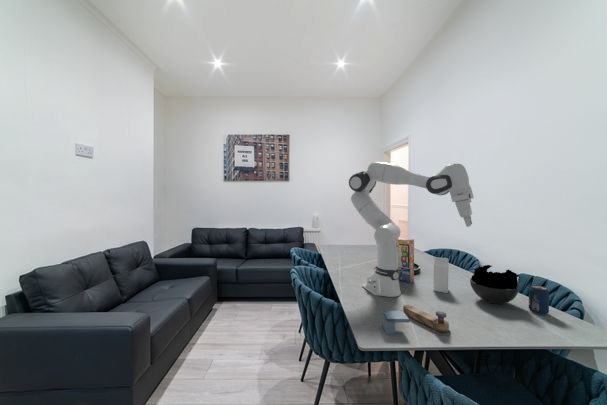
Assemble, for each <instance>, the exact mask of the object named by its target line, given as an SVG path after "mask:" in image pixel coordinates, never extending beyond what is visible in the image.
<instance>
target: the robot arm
mask: <svg viewBox="0 0 607 405" xmlns="http://www.w3.org/2000/svg"><path fill="white" fill-rule="evenodd" d="M469 178H470V177H469V175H468V172H467V169H466V167H465V166H464V165H463V164H462V163H451V164H447V165H445V166H444V167H443V169H441V170H440V171H439V172H437V173H436V174H434V175H431V176H430V177H429V176H426V175H421V174H416V173H413V172H411V171H409V170H408V169H406V168H404V167H401V166H400V165H396V164H393V163H389V162H383V161H374V162H371V163H369V165H368V167H367V170H366V171H359V172H357V173H355V174H352V175H351V176H350V177H349V179H348V186H349V188H350V189H351V190H352V191H353V193H352V195H351V196H350V201H351V203H352V204H353V207H354V208H355V209H356V211H357V213H358V214H359V215H360V216H361V218H362V219H363V220H364V221H365V223H367V225H369V226H371V227H372V228H373V229H374V234H373V237H374V240H375V246H376V251H377V266H375V267H374V268H373V269H374V270H375V271H374V272H372V273H371V274H370V275H369V276H367V278H366V282H364V283H363V284H362V285H361V286H362V287H363V289H366V290H367V291H368V292H369V293H371V294H373V295H374V296H378V297H379V296H382V297H389V298H395V297H399V296H401V294H402V292H401V288H400V280H399V279H398V276H399V268H398V253H397V246H396V240H397V239H398V238H400V237H401V229H400V227H399V226H398V224H396V223H395V222H394V221H393V219H391V218H390V217H389V216H388V215H387V214H386V213H385V212H384V211H383V210H382V209H381V208H380V207H379V205H378V204H377V203H376V202H375V201H374V200H373V199H372V197H371V196H370V193H372V191H373V190H374V188H375V187H376V184H377V182H379V183H384V184H388V185H397V186H398V185H399V186H402V185H403V186H404V185H406V186H407V185H409V186H415V187H419V188H423V189H426V190H427V191H428V192H429V193H430V194H432V195H437V196H445V195H448V193H449V194H450V198H451V203H454V204H455V206H456V209H457V211H458V215H459V216H460V217H461V218H463V220H464V224H465V227H467V228H469V227H471V226H472V224H473V223H472V222H473V221H472V216H471V215H473V211H472V208H471V203H472V199H475V198H474V197H475V196H474V194H473V190H472V187H471V185H470V179H469Z"/></svg>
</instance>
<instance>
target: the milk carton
mask: <svg viewBox="0 0 607 405" xmlns="http://www.w3.org/2000/svg"><path fill="white" fill-rule="evenodd" d="M433 291H434V292H439V293H444V294H448V292H449V258H447V257H438V256H437V257H436V256H434V258H433Z"/></svg>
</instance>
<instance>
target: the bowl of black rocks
mask: <svg viewBox="0 0 607 405" xmlns="http://www.w3.org/2000/svg"><path fill="white" fill-rule="evenodd" d="M491 267H493V265H490V264H485V265H482V266H479V267H476V268H475V269H474V273H473V274H472V275H471V278H470V279H469V283H470V286H471V288H472V291H473V292H474V293H475V295H477V297H479V298H480V299H482V300H483V301H485V302H488V303H491V304H496V305H501V304H507V303H509V302H511V301H513V300H514V299H515V298H516V297H517V295H518V294H519V291H520V290H519V289H520V286H518V284H519V283H518V279H517V273H516V272H514V271H512V270H510V269H506V270H505V271H504V272H503V273H502V272H499V271H495V272H493V271H491V270H490V271H488V270H489V269H490V268H491Z"/></svg>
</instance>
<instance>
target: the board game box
mask: <svg viewBox="0 0 607 405" xmlns="http://www.w3.org/2000/svg"><path fill="white" fill-rule="evenodd" d="M396 246H397V253H398V268H399V276H398V279H399V281H401V282H402V281H403V282H407V283H413V282H414V281H415V239H413V238H405V237H404V238H403V237H399V238H398V239H397V240H396Z"/></svg>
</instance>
